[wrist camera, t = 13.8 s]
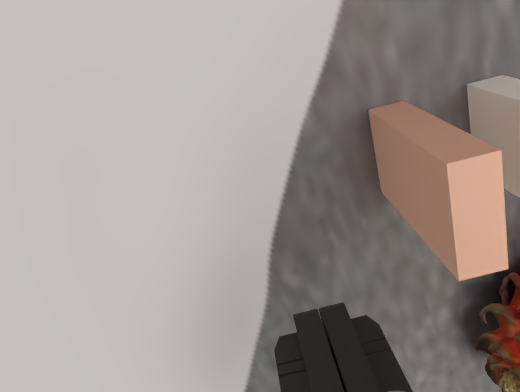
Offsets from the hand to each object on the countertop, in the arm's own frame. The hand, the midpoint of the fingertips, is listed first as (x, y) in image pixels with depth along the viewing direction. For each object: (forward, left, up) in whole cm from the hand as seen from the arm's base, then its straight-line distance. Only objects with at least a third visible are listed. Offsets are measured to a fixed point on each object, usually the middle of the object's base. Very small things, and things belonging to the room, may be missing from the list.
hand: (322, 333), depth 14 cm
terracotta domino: (0, -7, -15) cm, 16 cm away
